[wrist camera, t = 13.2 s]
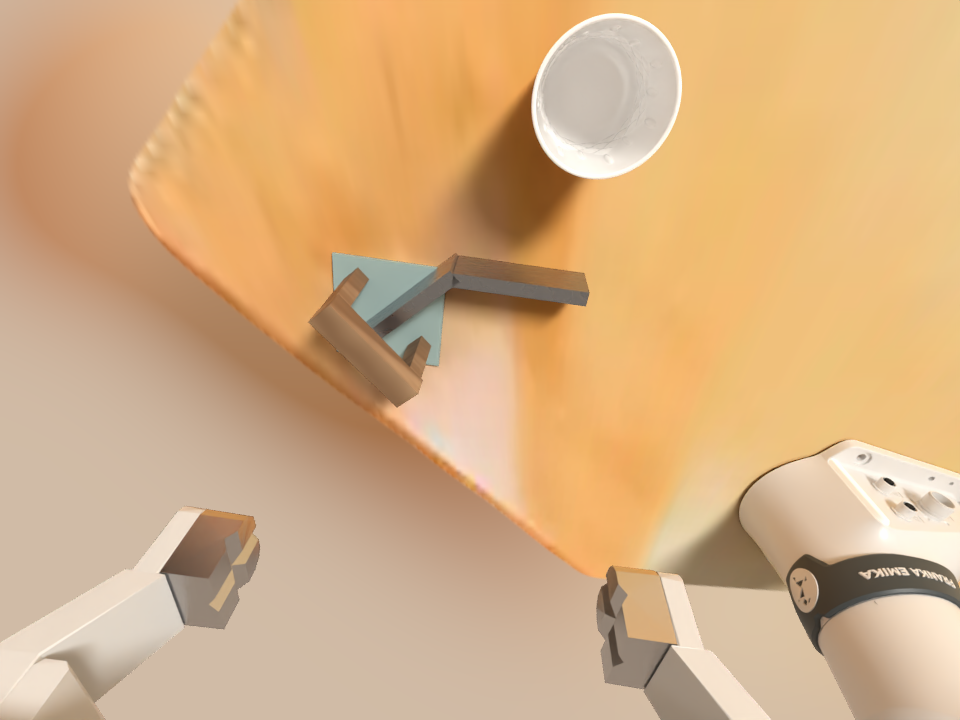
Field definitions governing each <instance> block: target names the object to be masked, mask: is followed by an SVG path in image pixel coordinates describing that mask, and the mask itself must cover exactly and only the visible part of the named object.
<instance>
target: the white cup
mask: <svg viewBox="0 0 960 720" xmlns="http://www.w3.org/2000/svg"><path fill="white" fill-rule="evenodd" d="M681 92H682V80H681V71H680V66H679V63H678V59H677V57H676V54H675V52H674V50H673V48H672V46H671V44H670V43H669V41H668V40H667V38H666V37H665V36H664V35H663V34H662V33H661V32H660V31H659V30H658V29H657V28H656V27H655V26H653V25H652V24H651V23H649V22H647V21H645V20H643V19H641V18H639V17H636V16H632V15H628V14H619V13H613V14H604V15H599V16H596V17H593V18H590V19H587V20H585V21H583V22H581V23H579V24H578V25H576V26H574V27H573V28H571V29H570V30H569V31H568V32H566V33H565V34H564V35H563V36H562V37H561V38H560V39H559V40H558V41H557V42H556V43H555V44H554V45H553V47H552V48H551V49H550V51H549V52H548V54H547V55H546V57H545V59H544V60H543V62H542V64H541V66H540V68H539V71H538V73H537V76H536V79H535V83H534V87H533V92H532V102H531V112H532V121H533V126H534V130H535V133H536V136H537V139H538V141H539V143H540V145H541V147H542V149H543V150H544V152H545V153H546V154H547V156H548V157H549V158H550V159H551V160H552V161H553V162H554V163H555V164H556V165H557V166H559V167H560V168H561V169H563V170H564V171H566V172H568V173H570V174H572V175H575V176H578V177H581V178H586V179H608V178H613V177H617V176H620V175H623V174H625V173H627V172H630V171H632V170H633V169H635V168H637V167H638V166H640V165H641V164H643V163H644V162H645V161H646V160H648V159H649V158H650V157H651V156H652V155H653V154H654V153H655V152H656V151H657V150H658V149H659V147H660V146H661V145H662V143H663V142H664V141H665V139H666V138H667V136H668V134H669V132H670V131H671V129H672V127H673V124H674V122H675V119H676V117H677V114H678V110H679V106H680V101H681Z"/></svg>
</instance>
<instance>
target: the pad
mask: <svg viewBox="0 0 960 720" xmlns="http://www.w3.org/2000/svg"><path fill="white" fill-rule="evenodd" d="M332 262H333V283H334V291H335V289H336V288H337V287H338V286H339V284H340V283H341V282H342V281H343V279H344V278H345V277H347V276H348V275H349V274H350V273H352V272H353V271H354V270H355V269H356V268H359V269H360V270H361V271H362V272H363V273H364V274H365V275H366V276H367V277H368V279H369V280H368V282H367V283H366V285H365V286H364V288H363V289H362V290H361V292H360V293H359V295H358V296H357V298H356V299H355V301H354V302H353V304H352V305H351V307H352V308H353V309H354V310H355V311H356V312H357V314H358V315H359V316H360V317H361V318H362V319H363V320H364V321H365V322H366V321H368V320H369V319H370V318H372V317H373V316H374V315H376V314H377V313H378V312H380V311H381V310H382V309H384V308H385V307H386V306H388V305H389V304H390V303H392V302H393V301H394V300H396V299H397V298H398V297H400V296H401V295H402V294H404V293H405V292H406V291H408V290H409V289H410V288H412V287H413V286H414V285H416V284H417V283H418V282H420V281H421V280H422V279H424V278H425V277H426V276H428V275H429V274H430V273H432V272H433V271H434V270H435V269H437V267H433V266H426V265H419V264H412V263H405V262H398V261H391V260H384V259H377V258H370V257H362V256H355V255H348V254H341V253H334V252H333V253H332ZM444 300H445V293H444V294H443V295H441V296H440V297H438V298H437V299H436V300H434V301H433V302H432V303H430V304H429V305H427V306H426V307H425V308H423V309H422V310H420V311H419V312H418V313H416V314H415V315H414V316H412V317H411V318H409V319H408V320H407V321H405V322H404V323H402V324H401V325H400V326H398V327H397V328H396V329H394V330H393V331H391V332H390V333H389V334H387V335H386V336H384V337H383V338H382V339H383V340H384V341H385V342H386V343H387V344H388V345H389V346H390V347H391V348H392V349H393V350H394V351H395V352H396V353H397V354H398V355H399V356H400V357H401V358H403V356H404V353H405V351H406V348H407V346H408V345H409V344H410V343H412V342H413V341H414V340H416V339H417V338H419V337H420V336H423V337H424V339H425V340H426V341H427V342H428V343H429V344H430V345H431V349H430V352H429V355H428V358H427V361H426V364H428V365H435V366H439V357H440V346H441V334H442V323H443V311H444ZM337 352H339V351H338V350H337Z"/></svg>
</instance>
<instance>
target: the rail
mask: <svg viewBox="0 0 960 720" xmlns="http://www.w3.org/2000/svg"><path fill="white" fill-rule="evenodd" d="M451 288H459V289H467V290H474V291H481V292H488V293H495V294H502V295H509V296H516V297H523V298H530V299H537V300H545V301H552V302H559V303H566V304H573V305H580V306H586V304H587V300H588V296H589V289H588V286H587V282H586V278H585V275H584V273H578V272H571V271H564V270H557V269H550V268H543V267H536V266H529V265H522V264H515V263H507V262H500V261H493V260H486V259H479V258H472V257H465V256H458V255H457V254H454V255H453V256H452V257H450V258H449V259H448V260H446V261H445V262H444V263H442V264H441V265H440V266H438V267H437V269H435V270H434V271H433V272H432V273H430V274H429V275H428V276H426V277H425V278H424V279H422V280H421V281H420V282H418V283H417V284H416V285H414V286H413V287H412V288H410V289H409V290H408V291H406V292H405V293H404V294H402V295H401V296H400V297H398V298H397V299H396V300H394V301H393V302H392V303H390V304H389V305H388V306H386V307H385V308H384V309H382V310H381V311H380V312H378V313H377V314H376V315H374V316H373V317H372V318H370V319H369V320H368V321H366V323H367V324H368V325H369V326H370V327H371V328H372V329H373V330H374V331H375V332H376V333H377V334H378V335H379V336H380V337H381V338H383V337H384V336H386V335H387V334H389V333H390V332H391V331H393V330H394V329H396V328H397V327H398V326H400V325H401V324H402V323H404V322H405V321H407V320H408V319H409V318H411V317H412V316H414V315H415V314H416V313H418V312H419V311H420V310H422V309H423V308H425V307H426V306H427V305H429V304H430V303H432V302H433V301H434V300H436V299H437V298H438V297H440V296H441V295H443V294H444V293H445V292H447V291H448V290H450V289H451Z"/></svg>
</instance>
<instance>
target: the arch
mask: <svg viewBox="0 0 960 720" xmlns="http://www.w3.org/2000/svg"><path fill="white" fill-rule="evenodd" d="M368 280H369V279H368V277H367V276H366V275H365V274H364V273H363V272H362V271H361V270H360V269H359V268H356V269H355V270H354V271H353V272H352V273H350V274H349V275H348V276H347V277H345V278H344V279H343V281H342V282H341V283H340V284H339V286H338V287H337V288H336V289H335V291H334V292H333V293H332V294H331V295H330V297H329V298H328V299H327V300H326V302H325V303H324V304H323V305H322V307H321V308H320V309H319V310H318V311H317V312H316V313H315V314H314V316H313V317H312V318H311V319H310V321H309V322H308V323H310V324H311V325H312V326H313V327H314V328H315V329H316V330H317V331H318V332H319V333H320V334H321V335H322V336H323V337H324V338H325V339H326V340H327V341H328V342H329V343H330V344H331V345H332V346H333V347H335V348H336V349H337V350H338V351H339V352H340V353H341V354H342V355H343V356H344V357H345V358H346V359H347V360H348V361H349V362H350V363H351V364H352V365H353V366H354V367H355V368H356V369H357V370H358V371H359V372H361V373H362V374H363V375H364V376H365V377H366V378H367V379H368V380H369V381H370V382H371V383H372V384H373V385H374V386H375V387H376V388H377V389H378V390H379V391H380V392H381V393H382V394H383V395H384V396H385V397H387V398H388V399H389V400H390V401H391V402H392V403H393V404H394V405H395V406H396V407H399V406H400V405H402V404H403V403H405V402H406V401H408V400H410V399H411V398H413V397H414V396H416V395H417V394H418V393H419V390H420V387H421V384H422V379H421V377H422V374H423V371H424V368H425V364H426V361H427V358H428V355H429V352H430V349H431V345H430V344H429V343H428V342H427V341H426V340H425V339H424V337H423V336H420V337H419V338H417V339H416V340H414V341H413V342H412V343H410V344H409V345H408V346H407V348H406V351H405V353H404V356H403V358H401V357H400V356H399V355H398V354H397V353H396V352H395V351H394V350H393V349H392V348H391V347H390V346H389V345H388V344H387V343H386V342H385V341H384V340H383V339H382V338H381V337H380V336H379V335H378V334H377V333H376V332H375V331H374V330H373V329H372V328H371V327H370V326H369V325H368V324H367V323H366V322H365V321H364V320H363V319H362V318H361V317H360V316H359V315H358V314H357V312H356V311H355V310H354V309H353V308H352V307H351V305H352V304H353V302H354V301H355V299H356V298H357V296H358V295H359V293H360V292H361V290H362V289H363V288H364V286H365V285H366V283H367V282H368Z"/></svg>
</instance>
